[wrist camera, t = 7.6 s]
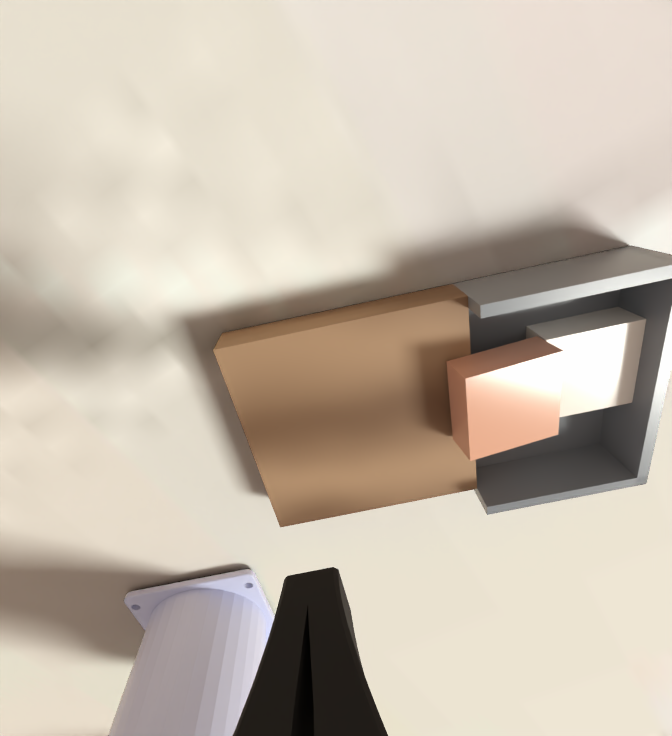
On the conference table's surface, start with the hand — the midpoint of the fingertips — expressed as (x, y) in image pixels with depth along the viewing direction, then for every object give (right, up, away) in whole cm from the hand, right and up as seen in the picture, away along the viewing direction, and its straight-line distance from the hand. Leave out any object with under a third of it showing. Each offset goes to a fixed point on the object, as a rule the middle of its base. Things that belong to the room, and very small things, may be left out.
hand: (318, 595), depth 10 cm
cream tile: (+11, +6, +8) cm, 15 cm away
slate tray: (+10, +6, +8) cm, 14 cm away
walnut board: (+1, +4, +8) cm, 10 cm away
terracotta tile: (+7, +5, +7) cm, 11 cm away
